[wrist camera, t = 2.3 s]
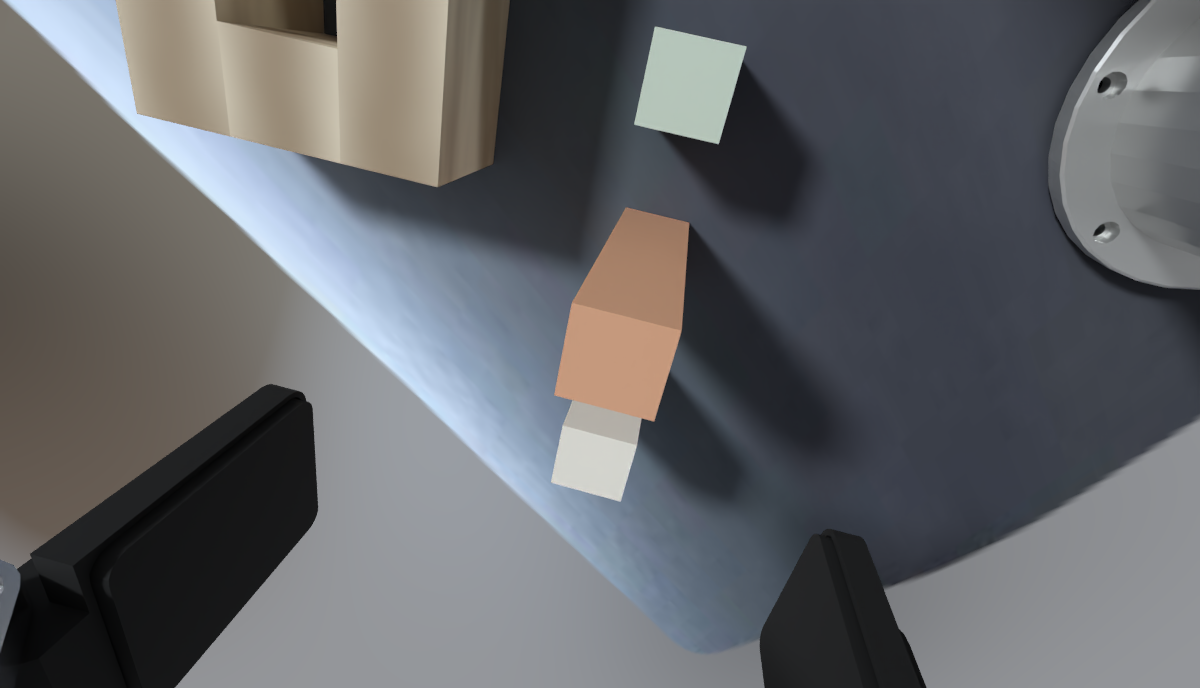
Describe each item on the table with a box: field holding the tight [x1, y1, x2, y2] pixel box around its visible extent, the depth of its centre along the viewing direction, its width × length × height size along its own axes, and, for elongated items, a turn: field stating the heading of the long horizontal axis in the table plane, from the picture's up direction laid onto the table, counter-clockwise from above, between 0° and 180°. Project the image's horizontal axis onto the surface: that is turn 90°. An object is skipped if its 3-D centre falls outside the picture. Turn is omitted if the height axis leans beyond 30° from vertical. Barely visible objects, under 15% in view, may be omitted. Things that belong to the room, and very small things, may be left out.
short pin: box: [634, 27, 746, 144], centre depth 20 cm, size 3×3×5 cm
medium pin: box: [551, 400, 642, 502], centre depth 25 cm, size 3×3×8 cm
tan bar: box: [554, 208, 689, 421], centre depth 20 cm, size 3×3×12 cm
